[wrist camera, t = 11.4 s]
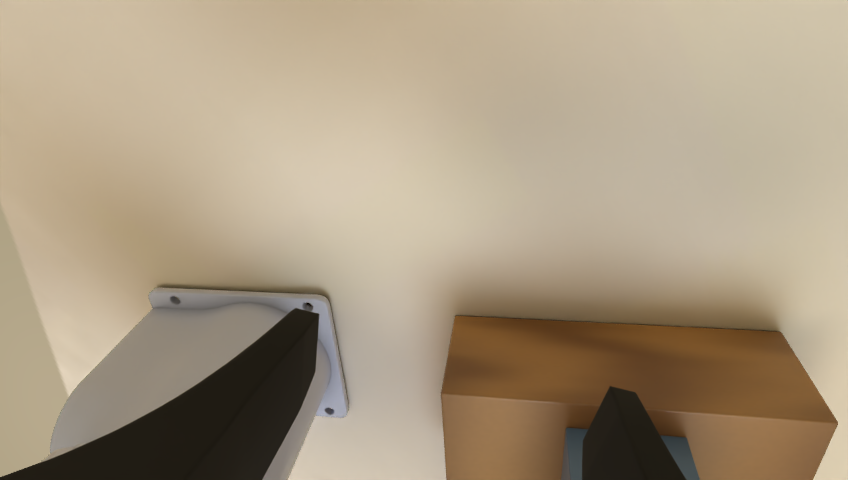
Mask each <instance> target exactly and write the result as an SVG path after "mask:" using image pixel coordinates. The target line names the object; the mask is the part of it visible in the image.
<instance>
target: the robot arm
mask: <svg viewBox="0 0 848 480" xmlns="http://www.w3.org/2000/svg"><path fill="white" fill-rule="evenodd" d="M148 296H149V300H150V303H151V305H152V308H153V309H152V310H151V311H150V312H149V313H148V314H147V315H146V316H145V317H144V318H143V319H142V320H141V321H140V322H139V323H138V324H137V325H136V326H135V327H134V328H133V329H132V330H131V331H130V332H129V333H128V334H127V335H126V336H125V337H124V338H123V339H122V340H121V341H120V342H119V343H118V344H117V345H116V347H115V348H114V349H113V350H112V351H111V352H110V353H109V354H108V355H107V356H106V357H105V358H104V359H103V360H102V361H101V362H100V363H99V364H98V365H97V366H96V367H95V368H94V369H93V370H92V371H91V372H90V373H89V374H88V375H87V376H86V377H85V378H84V379H83V380H82V381H81V382H80V383H79V385H78V386H77V387H76V388H75V389H74V391H73V392H72V393H71V395H70V396H69V398H68V399H67V401H66V403H65V405H64V407H63V409H62V410H61V412H60V415H59V417H58V419H57V422H56V425H55V427H54V430H53V434H52V439H51V445H50V454H49V455H48V456H47V457H46V458H44V459H43V460H42V461H41V462H40V463H38V464H35V465H33V466H30V467H27V468H24V469H22V470H19V471H16V472H14V473H11V474H8V475H5V476H2V477H0V480H288V478H289V475H290V473H291V471H292V468H293V466H294V464H295V461H296V459H297V457H298V454H299V452H300V450H301V447H302V445H303V443H304V440H305V438H306V436H307V433H308V431H309V429H310V427H311V424H312V422H313V420H314V417H315V416H326V417H338V418H341V417H345V416H346V415H347V414H348V411H349V405H348V399H347V394H346V388H345V383H344V378H343V372H342V367H341V361H340V356H339V350H338V345H337V340H336V334H335V329H334V323H333V318H332V312H331V307H330V303H329V300H328V299H327V298H326V297H324V296H322V295H315V294H293V293H270V292H248V291H226V290H204V289H181V288H159V287H158V288H154V289H153V290H152V291H151V292H150V293H149V295H148ZM176 297H177V298H179V299H177V298H176ZM306 302H307V303H310V304H311V305H312V307H311V306H308V305H307V304H306ZM331 408H332V409H331ZM582 480H686V478H685V476H684V475H683V473H682V472H681V470H680V468H679V467H678V465H677V463H676V462H675V460H674V458H673V457H672V455H671V453H670V452H669V450H668V448H667V447H666V445H665V443H664V441H663V440H662V438H661V436H660V434H659V433H658V431H657V429H656V427H655V426H654V424H653V422H652V420H651V418H650V417H649V415H648V413H647V411H646V409H645V408H644V406H643V404H642V402H641V401H640V399H639V397H638V395H637V394H636V392H633V391H629V390H624V389H620V388H616V387H612V386H610V387H609V389H608V391H607V393H606V395H605V397H604V399H603V401H602V403H601V405H600V407H599V409H598V411H597V413H596V415H595V417H594V419H593V421H592V423H591V425H590V427H589V429H588V431H587V433H586V435H585V437H584V439H583V448H582Z"/></svg>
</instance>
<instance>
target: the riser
mask: <svg viewBox="0 0 848 480" xmlns="http://www.w3.org/2000/svg"><path fill="white" fill-rule="evenodd" d="M610 386H612V387H616V388H620V389H624V390H629V391H633V392H636V394H637V395H638V397H639V399H640V401H641V402H642V404H643V406H644V408H645V409H646V411H647V413H648V415H649V417H650V418H651V420H652V422H653V424H654V426H655V427H656V429H657V431H658V433H659V434H660V435H663V436H675V437H686V438H687V440H688V443H689V447H690V450H691V453H692V456H693V459H694V462H695V466H696V469H697V472H698V475H699V478H700V480H813V478H814V476H815V474H816V472H817V469H818V467H819V465H820V463H821V460H822V458H823V456H824V454H825V452H826V449H827V447H828V445H829V443H830V440H831V438H832V436H833V434H834V432H835V429H836V427H837V425H838V422H837V420H836V418H835V417H834V415H833V414H832V412H831V411H830V409H829V407H828V406H827V404H826V403H825V401H824V399H823V398H822V396H821V395H820V393H819V391H818V390H817V388H816V387H815V385H814V383H813V382H812V380H811V379H810V377H809V376H808V374H807V372H806V371H805V369H804V368H803V366H802V364H801V363H800V361H799V360H798V358H797V356H796V355H795V353H794V352H793V350H792V349H791V347H790V345H789V344H788V342H787V341H786V339H785V337H784V336H783V334H782V333H781V332H776V331H756V330H735V329H715V328H695V327H675V326H655V325H635V324H615V323H594V322H574V321H554V320H534V319H514V318H494V317H473V316H455V319H454V324H453V330H452V335H451V341H450V346H449V352H448V357H447V363H446V368H445V374H444V379H443V385H442V390H441V402H442V417H443V432H444V448H445V463H446V478H447V480H561V475H562V465H563V454H564V444H565V433H566V428H578V429H589V427H590V425H591V423H592V421H593V419H594V417H595V415H596V413H597V411H598V409H599V407H600V405H601V403H602V401H603V399H604V397H605V395H606V393H607V391H608V389H609V387H610Z"/></svg>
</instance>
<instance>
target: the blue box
mask: <svg viewBox="0 0 848 480" xmlns="http://www.w3.org/2000/svg"><path fill="white" fill-rule="evenodd" d="M587 431H588V429H578V428H566V433H565V444H564V454H563V465H562V475H561V480H582V448H583V439H584V437H585V435H586V433H587ZM660 436H661V438H662V440H663V441H664V443H665V445H666V447H667V448H668V450H669V452H670V453H671V455H672V457H673V458H674V460H675V462H676V463H677V465H678V467H679V468H680V470H681V472H682V473H683V475H684V476H685V478H686V480H700V478H699V475H698V472H697V469H696V466H695V462H694V459H693V456H692V453H691V450H690V447H689V443H688V440H687V438H686V437H675V436H663V435H660Z"/></svg>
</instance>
